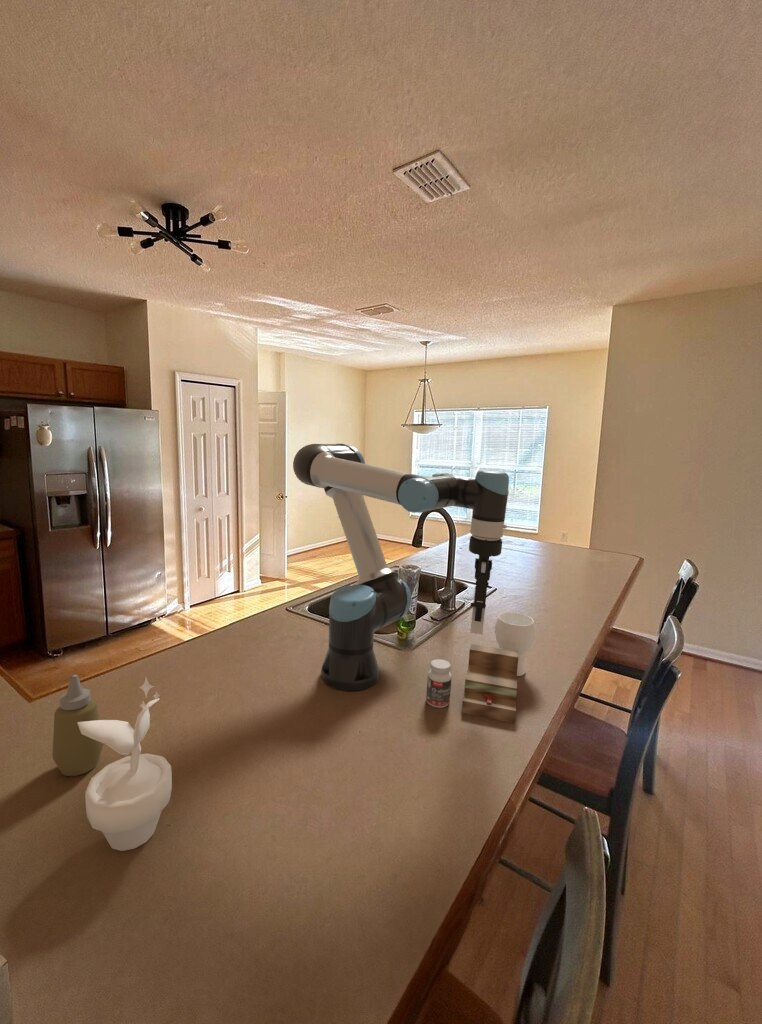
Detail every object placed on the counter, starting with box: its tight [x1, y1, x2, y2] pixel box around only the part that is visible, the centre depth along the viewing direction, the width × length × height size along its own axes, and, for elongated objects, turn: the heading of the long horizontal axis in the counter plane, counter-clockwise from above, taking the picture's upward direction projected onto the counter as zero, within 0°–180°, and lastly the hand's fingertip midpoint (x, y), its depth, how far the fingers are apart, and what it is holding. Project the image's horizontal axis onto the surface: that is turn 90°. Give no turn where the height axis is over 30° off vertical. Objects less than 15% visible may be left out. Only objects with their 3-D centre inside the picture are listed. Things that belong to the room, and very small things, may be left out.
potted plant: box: [77, 676, 173, 852], centre depth 70 cm, size 13×12×25 cm
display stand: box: [461, 643, 518, 724], centre depth 113 cm, size 12×16×10 cm
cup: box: [494, 611, 536, 677], centre depth 128 cm, size 11×11×15 cm
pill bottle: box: [425, 658, 453, 709], centre depth 111 cm, size 6×6×10 cm
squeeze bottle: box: [52, 674, 105, 777], centre depth 84 cm, size 8×8×18 cm
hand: (477, 621), depth 112 cm, fingers open, 13 cm apart
